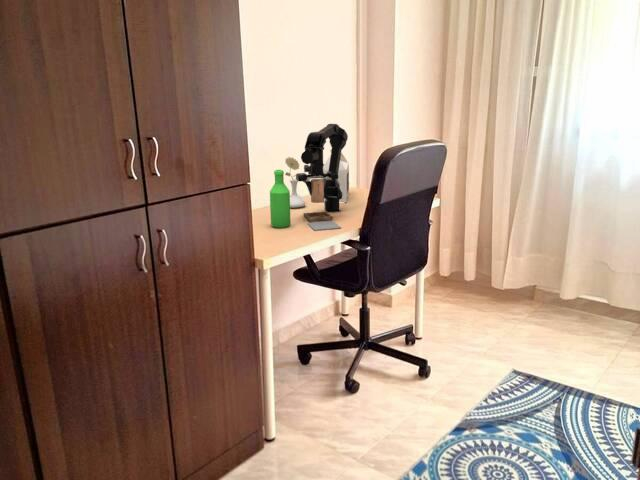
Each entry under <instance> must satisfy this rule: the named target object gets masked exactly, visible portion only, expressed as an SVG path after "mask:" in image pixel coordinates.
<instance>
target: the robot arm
mask: <svg viewBox="0 0 640 480" xmlns="http://www.w3.org/2000/svg"><path fill="white" fill-rule="evenodd" d="M327 139H329V144H330V146H331V149H332V151H330V155H331V157H330V164H329V171H328V172H327V174H324V173H323V166H324V164H325V163H324V150H325V147H324V146H325V144H326V143H327ZM348 139H349V138H348V133H347V131H346V129H343V128H342V127H340V125H339V124H337V123H328V124H326V126H325V127H323V128H322V129H320V130H319V131H312V132H310V133H308V135H307V138H306V140H305V145H304V152H302V153H301V156H300V159H301V161H302V163H303V164H304V165H303V172H300V173H296V174H295V175H296V176H295V179H296V180H298V182H302V183H304V184H305V185H306V188H307V192H308V193H309V196H311V194H312V190H311V179H321V178H323V180H324V198H325V201H324V203H323V204H324V206H323V207H324V211H326V212H327V213H335V212H336V213H337V212H341V209H340V203H339V199H342V192H341V190H340V184H339V182H338V180H337V179H338V171H339V164H340V157H341V153H342V150H343V149H344V148H345V147H346V144H347V141H348ZM307 173H308V174H307Z"/></svg>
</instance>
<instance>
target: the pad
mask: <svg viewBox="0 0 640 480" xmlns="http://www.w3.org/2000/svg"><path fill="white" fill-rule="evenodd" d="M307 225H308V226H309V227H310V229H312V230H313V232H319V231H320V232H321V231H330V230H332V231H333V230H341V229H342V227H341V225H339V224H338V223H337V222H335V221H334V220H333V221H322V222H311V223H309V222H307Z"/></svg>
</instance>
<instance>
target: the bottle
mask: <svg viewBox="0 0 640 480" xmlns="http://www.w3.org/2000/svg"><path fill="white" fill-rule="evenodd" d="M273 175H274V184H273V185H272V187H271V189H270V190H269V206H270V210H269V211H270V225H271V226H272V227H273V228H275V229H277V228H278V229H283V228H288V227H290V225H291V222H292V221H291V207H290V196H291V192H290V190H289V188H288V186H287V185H286V184H285V182H284V175H285V171H284V170H283V169H275V170H274V172H273Z"/></svg>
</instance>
